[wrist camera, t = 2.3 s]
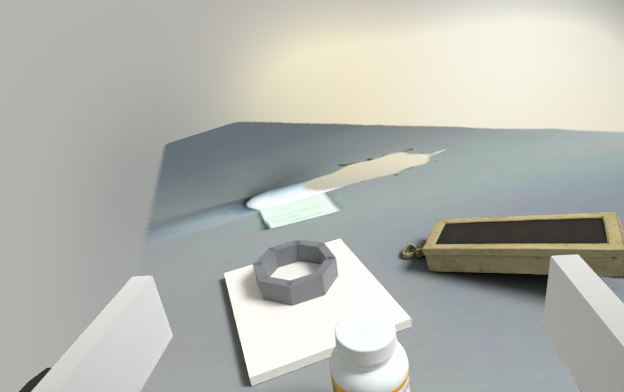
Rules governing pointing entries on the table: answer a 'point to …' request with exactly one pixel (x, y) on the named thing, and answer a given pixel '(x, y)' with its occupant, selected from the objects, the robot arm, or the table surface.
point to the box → (524, 243)
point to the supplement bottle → (368, 354)
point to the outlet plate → (301, 304)
